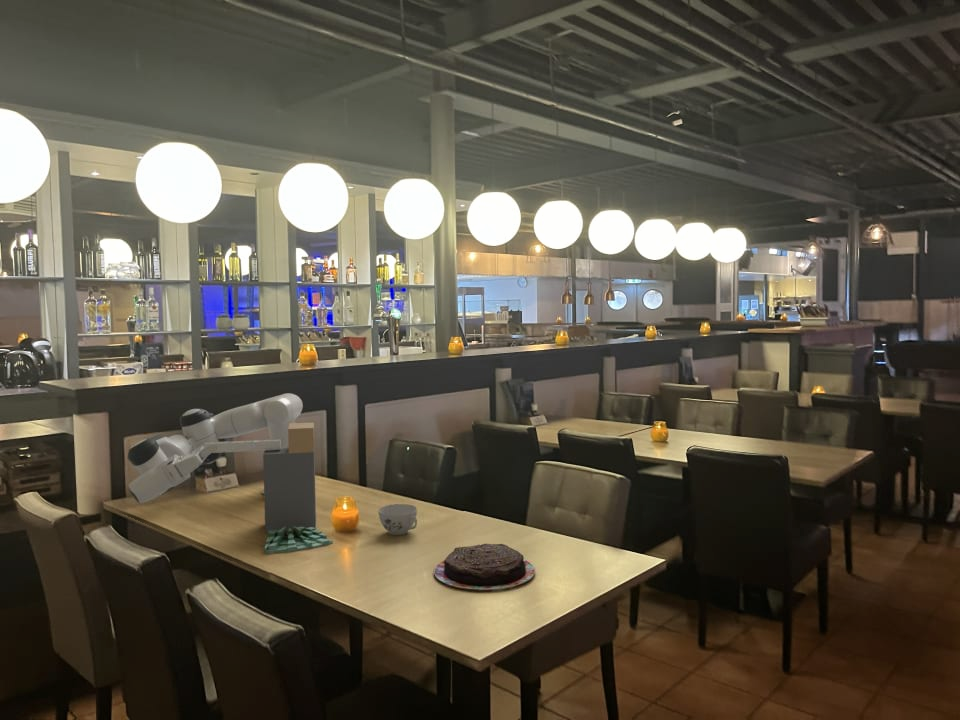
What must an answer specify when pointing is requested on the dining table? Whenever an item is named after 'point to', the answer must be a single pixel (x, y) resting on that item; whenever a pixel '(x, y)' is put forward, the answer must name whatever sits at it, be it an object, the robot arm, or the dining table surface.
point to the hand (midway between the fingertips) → (216, 445)
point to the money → (295, 540)
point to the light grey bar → (244, 445)
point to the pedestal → (291, 481)
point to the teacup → (398, 518)
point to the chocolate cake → (484, 568)
